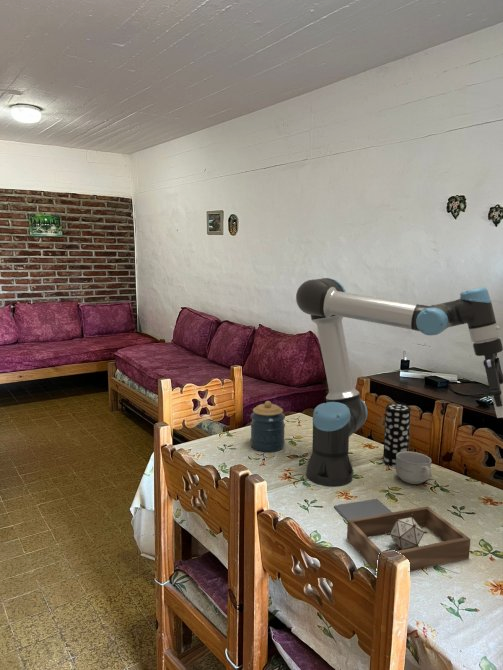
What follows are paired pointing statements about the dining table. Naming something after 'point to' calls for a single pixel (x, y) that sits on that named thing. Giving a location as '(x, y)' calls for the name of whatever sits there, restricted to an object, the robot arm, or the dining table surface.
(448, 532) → the rectangular frame
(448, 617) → the dining table surface
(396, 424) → the white-spotted black cylinder
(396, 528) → the game die
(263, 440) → the canister
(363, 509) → the pad
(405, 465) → the teacup
